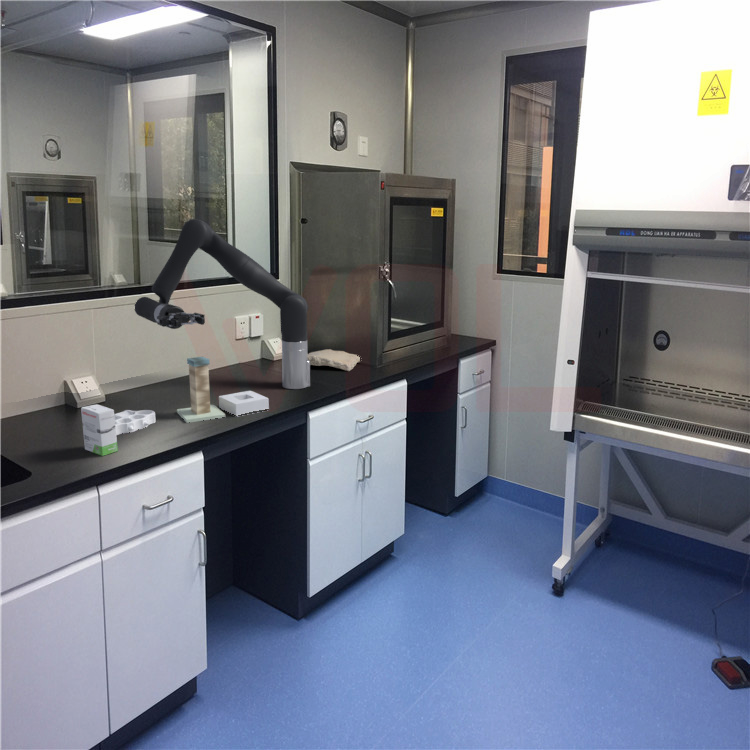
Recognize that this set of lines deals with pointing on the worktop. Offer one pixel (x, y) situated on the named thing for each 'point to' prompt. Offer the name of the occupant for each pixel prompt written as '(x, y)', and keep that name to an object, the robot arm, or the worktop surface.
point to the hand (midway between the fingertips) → (190, 322)
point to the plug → (199, 385)
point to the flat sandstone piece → (333, 359)
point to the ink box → (99, 429)
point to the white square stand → (243, 402)
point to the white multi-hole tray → (133, 420)
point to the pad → (193, 417)
